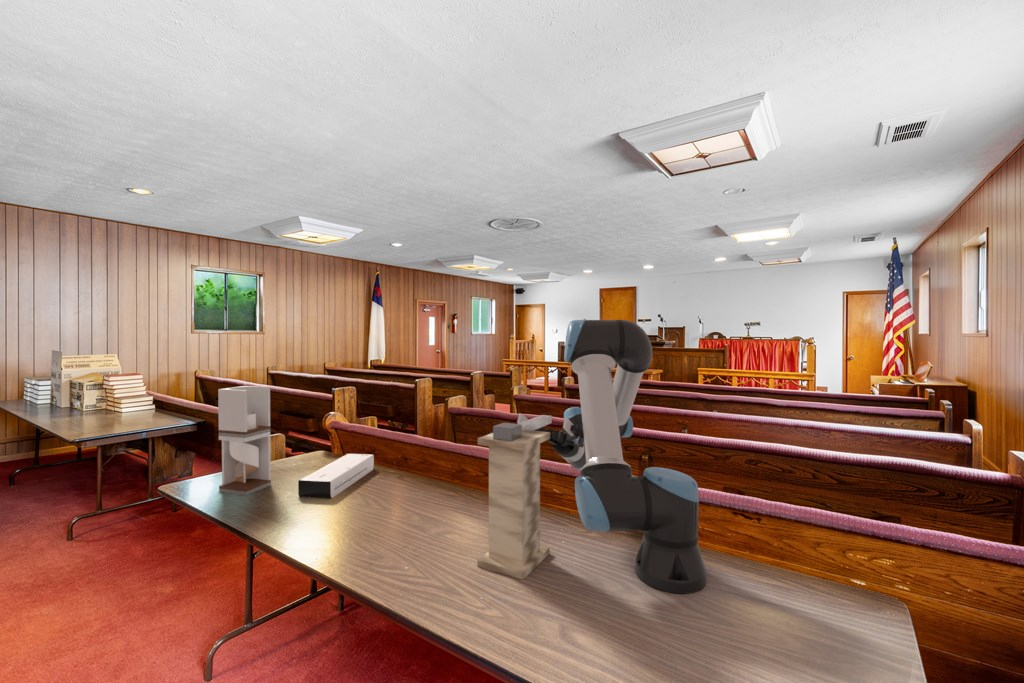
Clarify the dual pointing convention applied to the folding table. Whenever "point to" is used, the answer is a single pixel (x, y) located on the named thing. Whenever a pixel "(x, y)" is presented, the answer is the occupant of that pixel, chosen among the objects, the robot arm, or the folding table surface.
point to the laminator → (336, 476)
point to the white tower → (245, 438)
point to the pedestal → (514, 505)
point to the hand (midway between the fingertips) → (541, 420)
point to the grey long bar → (519, 428)
